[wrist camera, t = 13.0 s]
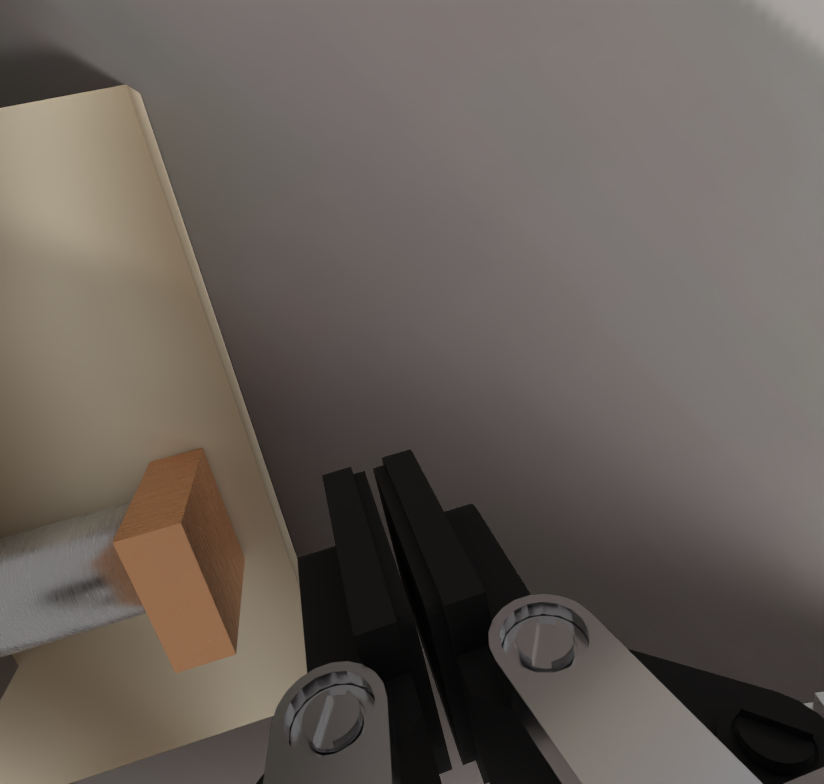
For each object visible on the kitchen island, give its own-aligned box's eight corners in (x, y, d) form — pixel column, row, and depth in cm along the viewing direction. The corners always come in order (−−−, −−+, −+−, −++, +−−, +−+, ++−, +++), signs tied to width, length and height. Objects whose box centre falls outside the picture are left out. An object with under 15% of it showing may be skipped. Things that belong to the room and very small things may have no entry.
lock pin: (203, 447, 13) (180, 523, 10) (245, 558, 14) (236, 654, 12) (-174, 549, 12) (-317, 664, 9) (-96, 658, 13) (-200, 792, 11)
